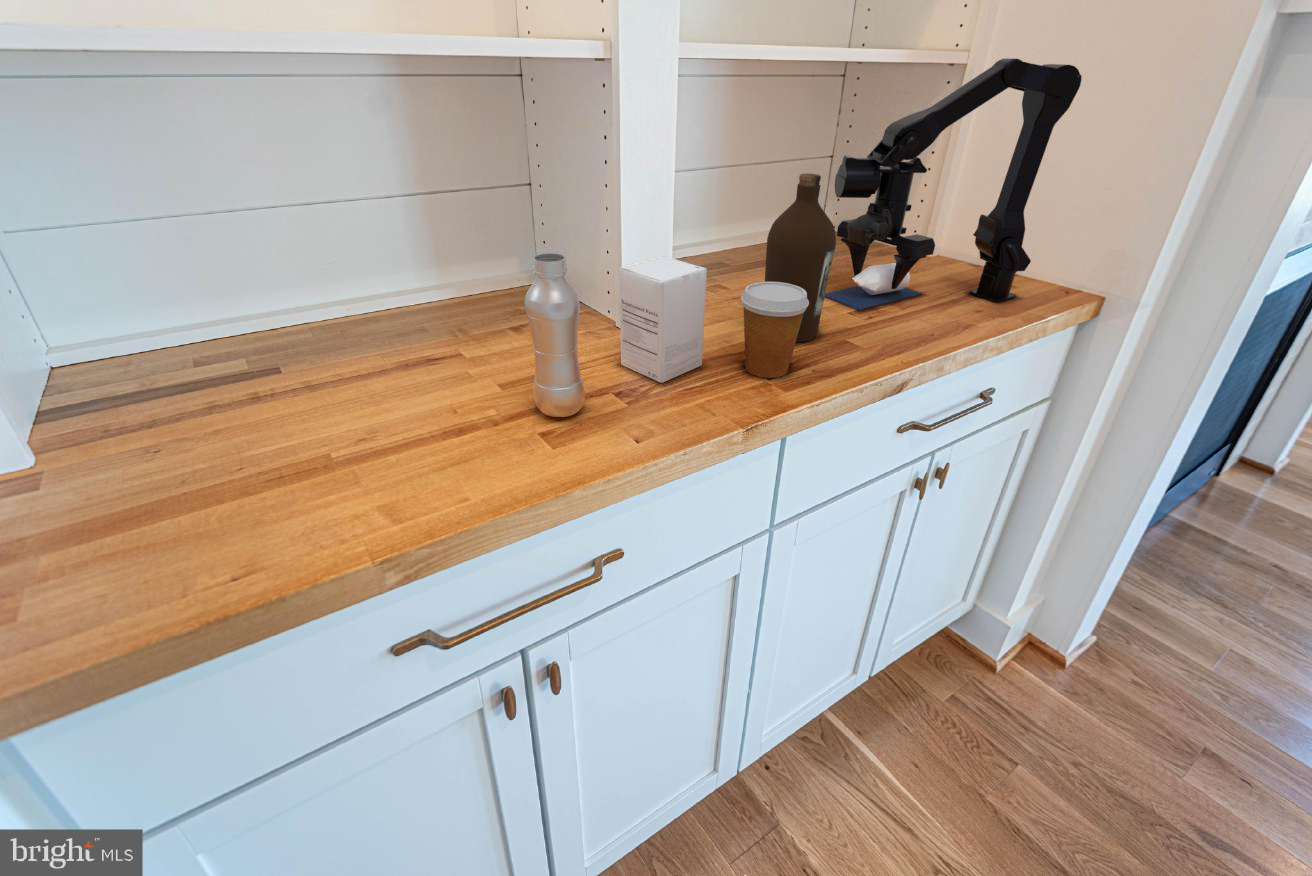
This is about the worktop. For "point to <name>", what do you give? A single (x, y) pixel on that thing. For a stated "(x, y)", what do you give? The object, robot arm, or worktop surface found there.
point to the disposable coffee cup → (771, 326)
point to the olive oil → (803, 251)
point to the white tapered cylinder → (879, 279)
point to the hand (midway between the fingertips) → (874, 282)
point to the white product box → (662, 317)
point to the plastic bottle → (554, 337)
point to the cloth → (868, 297)
